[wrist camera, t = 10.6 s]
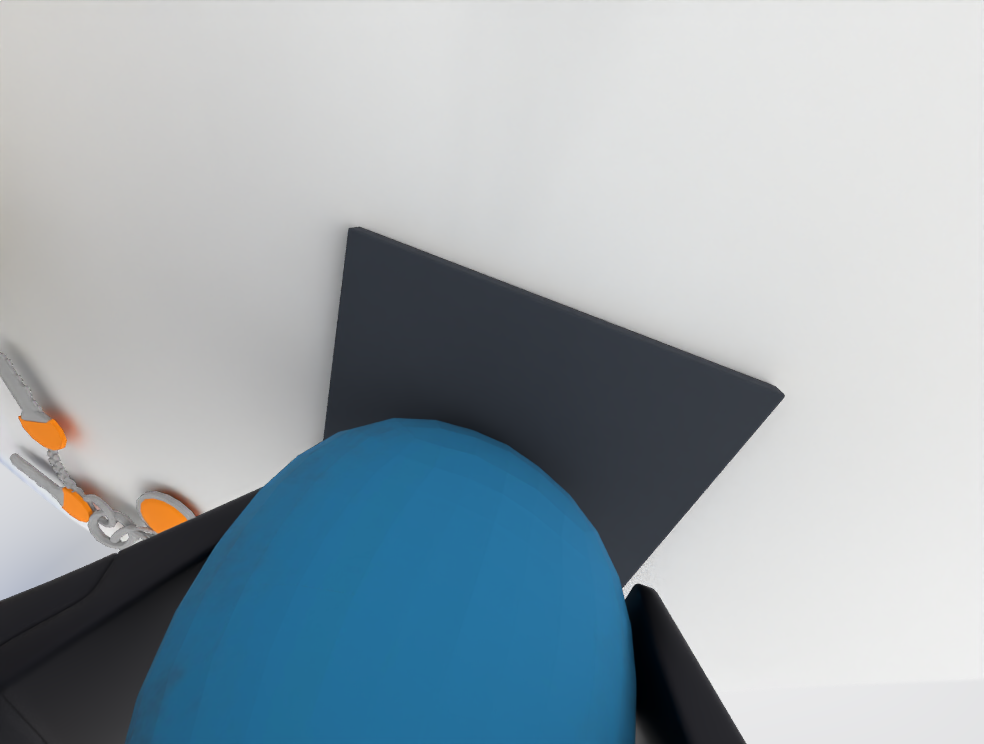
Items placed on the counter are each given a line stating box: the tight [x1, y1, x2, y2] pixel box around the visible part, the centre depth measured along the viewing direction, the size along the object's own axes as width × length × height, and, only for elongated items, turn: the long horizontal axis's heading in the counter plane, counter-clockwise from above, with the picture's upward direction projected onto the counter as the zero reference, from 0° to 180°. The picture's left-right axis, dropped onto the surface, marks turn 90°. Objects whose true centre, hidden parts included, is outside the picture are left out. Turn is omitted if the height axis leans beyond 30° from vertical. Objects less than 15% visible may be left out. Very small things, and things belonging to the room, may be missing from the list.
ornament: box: [125, 418, 637, 744], centre depth 7 cm, size 8×5×10 cm, turn 64°
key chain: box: [0, 352, 196, 551], centre depth 16 cm, size 13×7×1 cm, turn 36°
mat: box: [323, 227, 785, 588], centre depth 11 cm, size 11×11×1 cm
